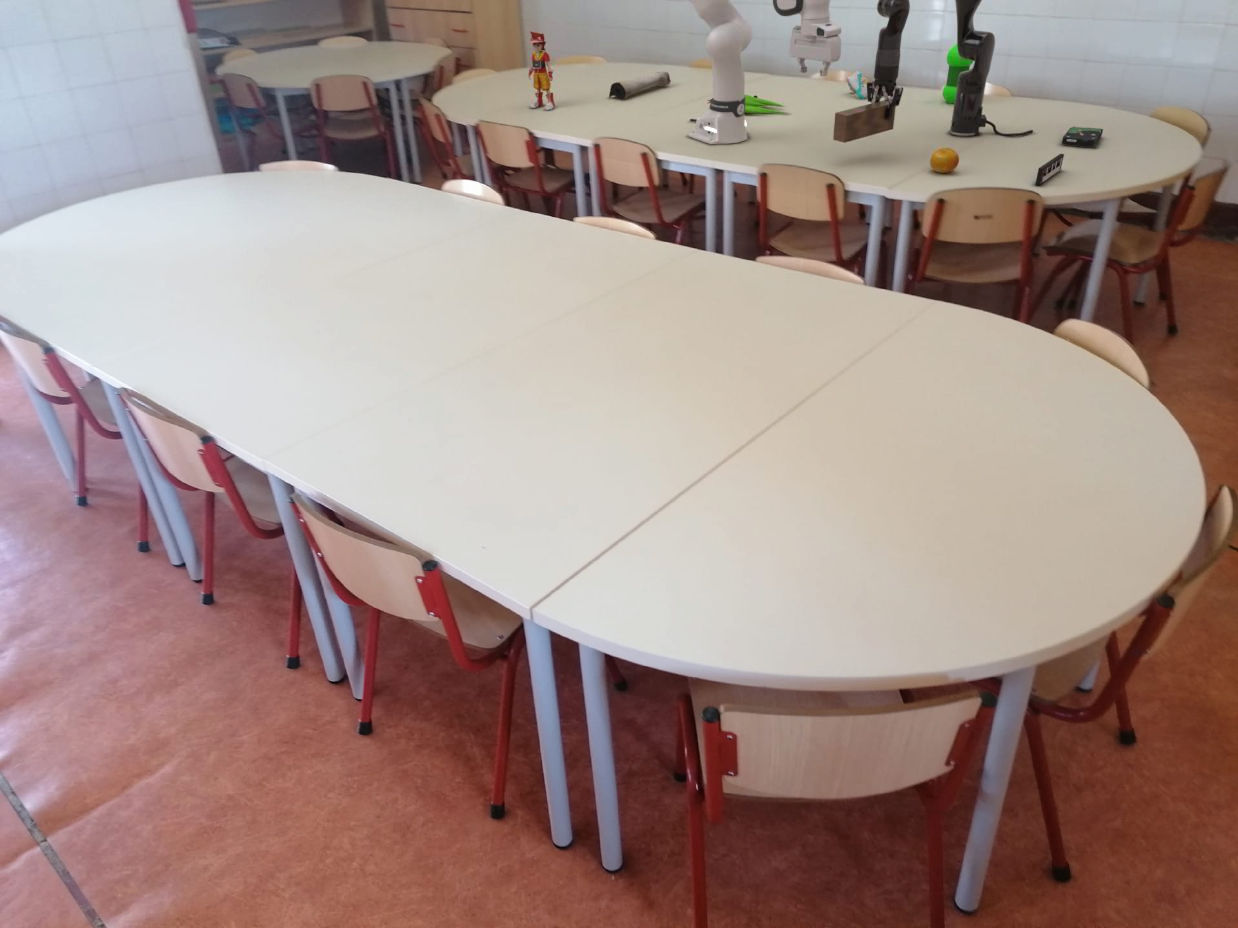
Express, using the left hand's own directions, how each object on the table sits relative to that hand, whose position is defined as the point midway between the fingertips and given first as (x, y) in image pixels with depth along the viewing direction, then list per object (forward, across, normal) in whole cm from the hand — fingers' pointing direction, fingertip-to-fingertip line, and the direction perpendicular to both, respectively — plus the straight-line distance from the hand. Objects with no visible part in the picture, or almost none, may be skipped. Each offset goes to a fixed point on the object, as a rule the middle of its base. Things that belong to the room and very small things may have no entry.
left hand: (813, 74), depth 291 cm
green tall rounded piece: (+27, -15, +91) cm, 96 cm away
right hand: (+15, +14, +18) cm, 27 cm away
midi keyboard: (+29, +66, +36) cm, 81 cm away
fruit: (+28, +41, +19) cm, 53 cm away
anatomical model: (+26, -50, +74) cm, 93 cm away
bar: (+19, +14, +10) cm, 26 cm away
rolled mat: (+23, -122, +13) cm, 125 cm away
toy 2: (+25, -61, +27) cm, 71 cm away
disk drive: (+29, +50, +77) cm, 96 cm away
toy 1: (+22, -130, -32) cm, 135 cm away
